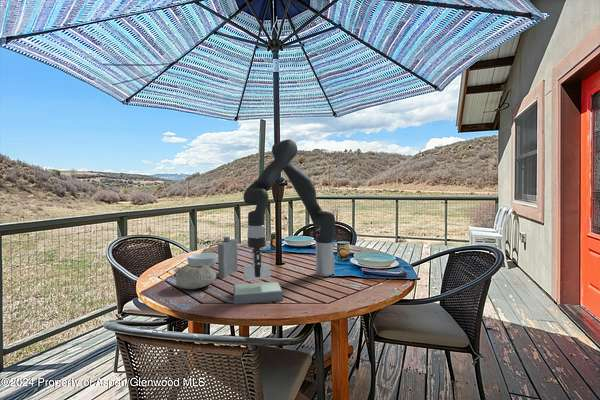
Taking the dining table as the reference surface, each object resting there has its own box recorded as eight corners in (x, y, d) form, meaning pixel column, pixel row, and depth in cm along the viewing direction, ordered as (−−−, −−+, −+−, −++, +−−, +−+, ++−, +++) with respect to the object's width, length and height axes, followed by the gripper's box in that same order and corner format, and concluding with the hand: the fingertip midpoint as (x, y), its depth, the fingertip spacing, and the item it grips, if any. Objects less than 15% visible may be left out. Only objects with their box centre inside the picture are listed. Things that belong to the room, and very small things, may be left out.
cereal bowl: (224, 266, 193) (224, 254, 192) (201, 273, 179) (201, 260, 178) (204, 262, 202) (204, 251, 201) (181, 268, 188) (181, 256, 187)
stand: (278, 290, 150) (278, 281, 150) (283, 300, 138) (282, 290, 137) (233, 293, 146) (233, 284, 146) (233, 304, 134) (233, 294, 133)
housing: (243, 276, 144) (243, 261, 143) (269, 274, 146) (268, 260, 146) (244, 281, 137) (244, 265, 137) (270, 279, 139) (270, 264, 139)
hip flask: (222, 278, 168) (222, 239, 167) (216, 278, 170) (215, 239, 168) (238, 270, 183) (237, 234, 182) (232, 269, 185) (231, 234, 183)
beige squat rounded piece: (194, 279, 168) (193, 259, 167) (223, 283, 161) (223, 263, 160) (168, 290, 151) (167, 268, 151) (199, 295, 144) (198, 272, 144)
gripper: (246, 233, 147) (247, 271, 148) (248, 238, 133) (249, 280, 134) (263, 232, 148) (264, 270, 149) (267, 238, 134) (267, 279, 135)
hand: (257, 274), depth 141 cm, fingers closed on housing, 5 cm apart
